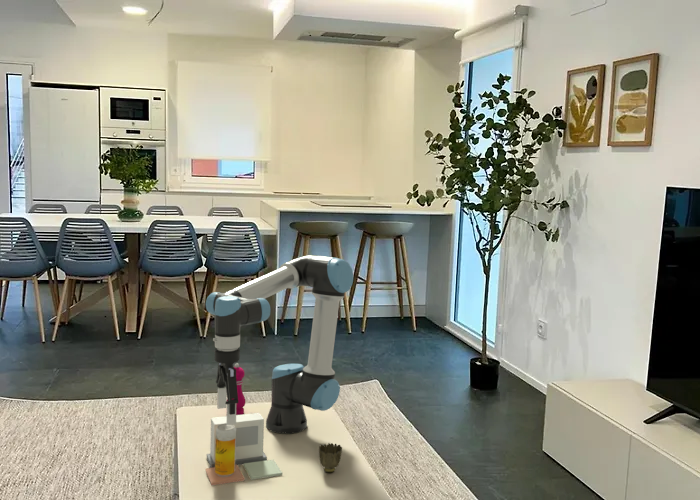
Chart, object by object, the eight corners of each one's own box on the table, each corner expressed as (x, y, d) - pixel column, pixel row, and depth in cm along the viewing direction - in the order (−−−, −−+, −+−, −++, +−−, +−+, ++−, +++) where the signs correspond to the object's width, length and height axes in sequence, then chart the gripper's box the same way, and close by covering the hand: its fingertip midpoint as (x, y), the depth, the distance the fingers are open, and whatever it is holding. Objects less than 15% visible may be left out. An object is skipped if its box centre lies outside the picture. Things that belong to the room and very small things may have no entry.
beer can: (212, 470, 204) (213, 424, 202) (232, 467, 207) (233, 421, 205) (217, 479, 199) (218, 431, 197) (237, 476, 201) (238, 429, 199)
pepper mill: (241, 417, 251) (242, 366, 249) (223, 415, 252) (224, 364, 250) (247, 411, 258) (249, 361, 256) (230, 409, 259) (231, 359, 257)
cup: (318, 465, 212) (319, 441, 212) (341, 466, 212) (342, 443, 211) (317, 476, 205) (317, 451, 204) (340, 477, 205) (341, 452, 204)
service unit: (260, 451, 221) (261, 411, 220) (266, 461, 214) (267, 419, 212) (206, 458, 214) (207, 417, 213) (211, 468, 207) (212, 426, 206)
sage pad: (273, 461, 214) (273, 459, 214) (282, 475, 205) (282, 472, 205) (243, 465, 210) (243, 463, 210) (250, 479, 201) (250, 477, 201)
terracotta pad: (237, 466, 209) (237, 464, 209) (244, 480, 200) (244, 478, 200) (205, 470, 205) (205, 468, 205) (211, 485, 196) (211, 482, 196)
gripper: (207, 338, 208) (206, 403, 211) (223, 360, 185) (222, 432, 188) (230, 337, 211) (229, 400, 214) (249, 358, 188) (248, 429, 191)
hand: (226, 415), depth 201 cm, fingers open, 13 cm apart
